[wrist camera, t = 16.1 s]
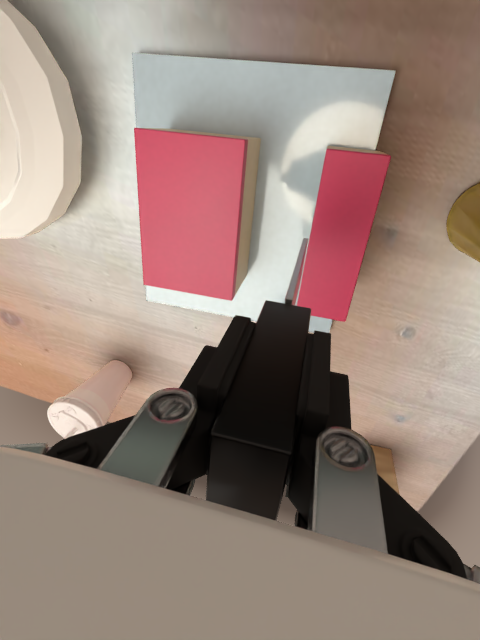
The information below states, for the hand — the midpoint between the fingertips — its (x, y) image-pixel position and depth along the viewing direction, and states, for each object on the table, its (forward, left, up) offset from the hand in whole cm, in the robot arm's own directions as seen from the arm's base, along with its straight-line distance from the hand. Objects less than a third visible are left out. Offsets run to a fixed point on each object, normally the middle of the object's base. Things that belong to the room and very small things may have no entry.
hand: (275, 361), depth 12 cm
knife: (0, 0, -11) cm, 11 cm away
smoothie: (+21, +23, -22) cm, 38 cm away
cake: (+9, 0, -22) cm, 24 cm away
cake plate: (+6, 0, -22) cm, 23 cm away
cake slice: (-2, 0, -21) cm, 21 cm away
